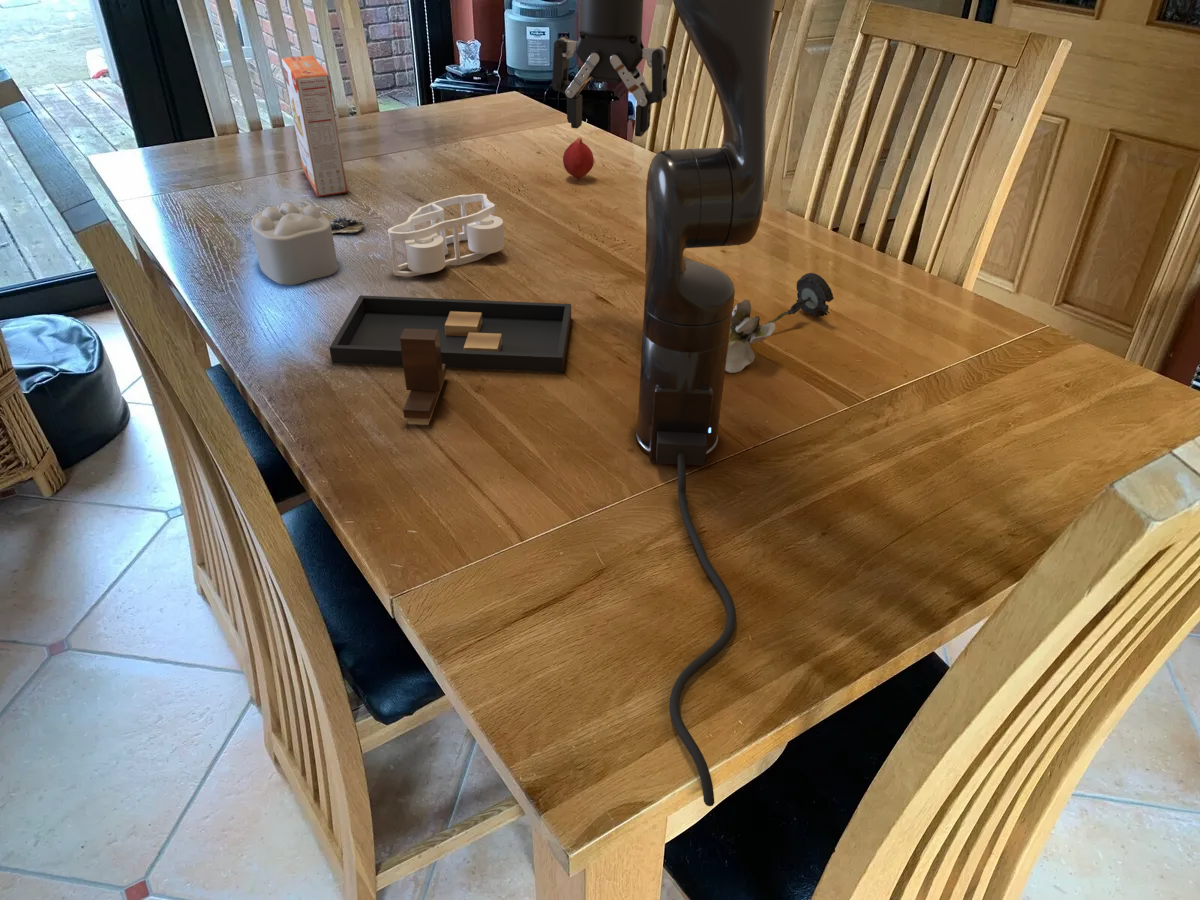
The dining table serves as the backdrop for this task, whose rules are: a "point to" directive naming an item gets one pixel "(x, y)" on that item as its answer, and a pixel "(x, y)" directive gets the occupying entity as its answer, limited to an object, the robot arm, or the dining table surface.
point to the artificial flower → (748, 329)
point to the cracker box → (315, 124)
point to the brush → (421, 373)
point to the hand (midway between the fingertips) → (608, 130)
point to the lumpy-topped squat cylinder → (294, 243)
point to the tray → (525, 327)
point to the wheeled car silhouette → (432, 247)
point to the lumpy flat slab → (346, 225)
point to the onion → (578, 159)
